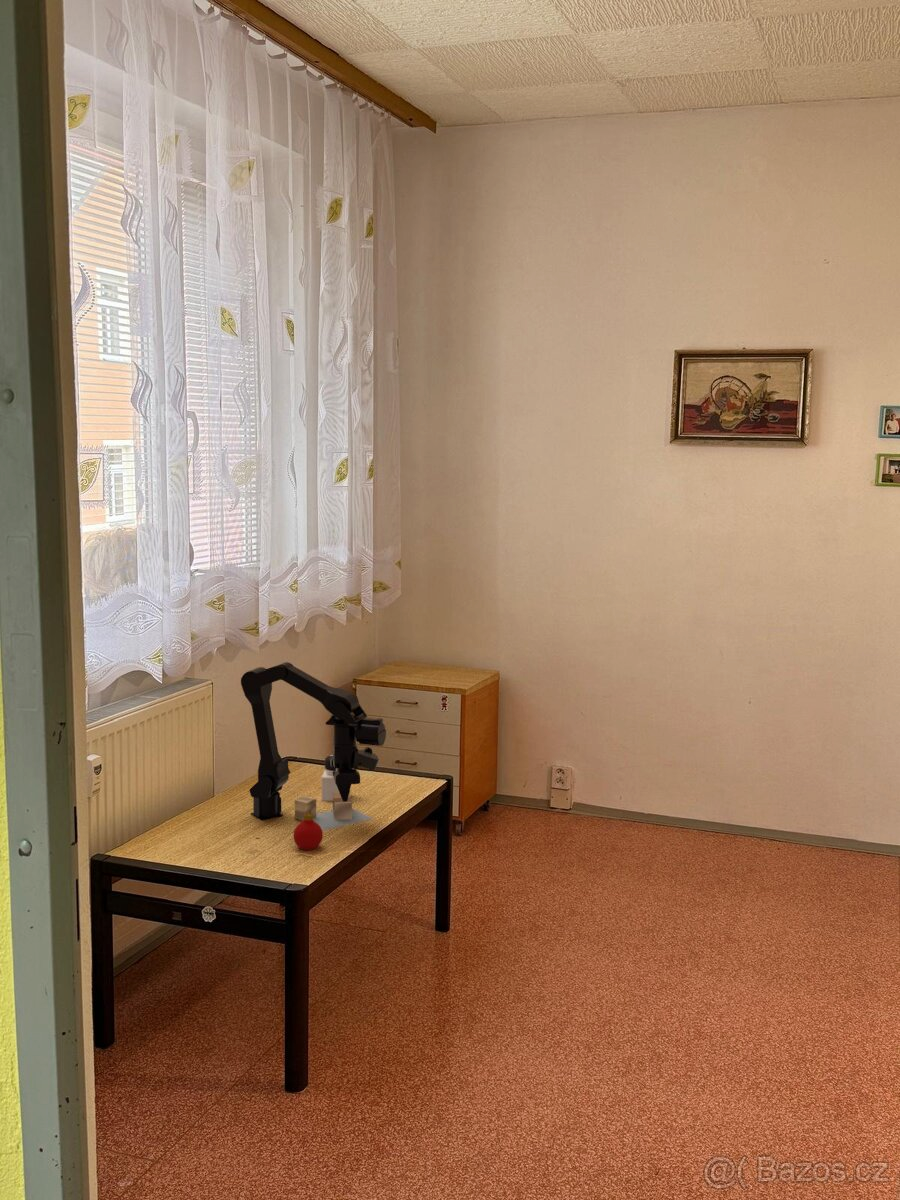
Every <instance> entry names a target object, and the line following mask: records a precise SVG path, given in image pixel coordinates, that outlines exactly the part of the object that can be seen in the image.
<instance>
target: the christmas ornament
mask: <svg viewBox="0 0 900 1200" xmlns="http://www.w3.org/2000/svg"><path fill="white" fill-rule="evenodd" d="M307 811H308V810H307ZM307 811H306V814H305V815H304V821H300V822H299V823H298V824H297V825H296V827H295V828H294V830H293V841H294V844H296V846H297V847H298V848H300V849H301V850H304V851H312V850H314V849H316V848H318V847H319V846H320V844H321V843H322V841H323V839H324V838H323V837H324V833H323V832H324V831H322V829H321V827H320V826H319V825H318V824H317V823H316V822H314V821H313V819H312V814H311V811H310V810H309V811H310V814H307Z"/></svg>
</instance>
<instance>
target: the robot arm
mask: <svg viewBox="0 0 900 1200" xmlns="http://www.w3.org/2000/svg"><path fill="white" fill-rule="evenodd" d="M277 681H282V682H285V683H287V684H289V685H290V686H292V687H293V688H295V689H297V690H299V691H301V692H303V693H304V694H306V695H307V696H309V697H312V698H313V699H315V700H316V701H318V702H320V704H321V705H322V706H323V707H324V709H325V710H326V711H328V713H330V714H331V715H330V718H329V719H328V720H327V721H325V725H326V726H333V743H332V749H333V754H332V755H333V756H332V757H331V767H334V768H336V771H334V772H332V773H333V776H334V781H335V784H336V785H337V788H338V790H339V793H340V795H341V798H342V800H343V802H347V800H348V796H349V792H350V793H351V787H352V785H359V784H361V774H360V771H358V770H357V769H359V767H361V768H365V769H368V770H370V771H372V772H374V771H376V768H377V765H378V762H379V760H380V759H379V757H378V755H376V753H373V749H372V747H369V746H377V747H382V746H384V744H385V741H386V738H387V737H386V736H387V729H386V726H385V724H384V720H383V718H379V717H378V718H370V717H369V718H368V714H366V712H365V709H363V708H362V705H360V701H359V697H358V696H357V695H356V694H355V693H353V692H351V691H348V690H346V689H343V688H338V687H334V686H330V685H328V684H326V683H324V682H323V681H321V680H319V679H318V678H315V677H314V676H312V675H310V674H308V673H307V672H305V671H303V670H301V669H299V668H298V667H296V666H294V665H293V664H292V663H291V662H288V661H284V662H282V663H280V664H277V665H275V666H271V667H269V668H266V667H264V666H259V667H256V668H254V669H251V670H249V671H246V672H244V674H243V675H242V676H241V677H240V686H241V688H242V691H243V694H244V697H245V698H246V700H247V701H248V703H249V704H250V707H251V710H252V711H251V712H252V716H253V721H254V727H255V729H254V730H255V734H256V739H257V744H258V751H259V758H260V759H259V764H258V768H257V782H255V783H254V784H253V786H251V787H250V788H249V793H250V797H251V798H253V800H252V801H253V803H252V804H253V808H252V809H253V812H250V815H251V816H252V817H254V818H256V819H258V820H260V821H267V820H271V819H276V818H280V817H284V814H283V813H282V797H281V792H279V791H282V788H283V787H284V785H285V784H286V783H287V782H288V781H289V779H290V778H289V777H290V776H289V775H290V774H291V770H290V767H289V759H288V758H284V759H283V758H282V757H281V755H280V754H279V749H278V744H277V736H276V731H275V726H274V720H273V714H272V709H271V703H270V699H271V695H272V690H273V683H274V682H277ZM357 743H359V744H360V745H366V746H365V747H364V748H363V749H359V748H358V746H357ZM367 745H368V746H367Z"/></svg>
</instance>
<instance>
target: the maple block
mask: <svg viewBox="0 0 900 1200" xmlns="http://www.w3.org/2000/svg"><path fill="white" fill-rule="evenodd" d="M307 810H308V811H307ZM309 810H310V811H311V814H312V819H313V818H315V817H316V814H317V798H315V797H309V796H306V795H304V796H301V797H298V798H296V799H294V819H295V820H299V821H301V820H303V821H304V815H305V814H306V811H307V814H310V811H309ZM303 821H302V822H303Z"/></svg>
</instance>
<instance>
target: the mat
mask: <svg viewBox="0 0 900 1200" xmlns="http://www.w3.org/2000/svg"><path fill="white" fill-rule="evenodd" d="M373 819H374V817H370V816H369V815H367V814H365V813H362V812H360V811H358V810H356V809H354V808H352V819H348V820H335V819H334V813H333V809H332V810H327V811H323V812H318V813H316V817H315V818H313V821H314V822H316V823H317V824H318V825H319V826H320V827H321V829H322V832H324V831H325V832H326V831H328V830H332V829H336V828H340V827H345V826H348V825H350V826H351V825H353V824H357V823H363V822H366V821H370V820H373ZM300 822H303V820H300Z"/></svg>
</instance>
